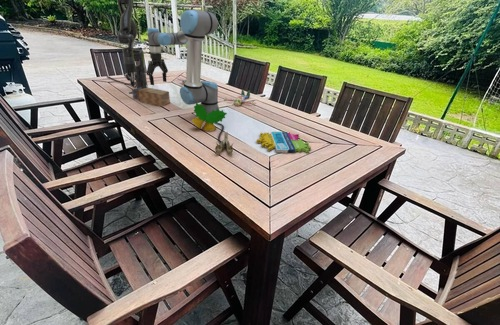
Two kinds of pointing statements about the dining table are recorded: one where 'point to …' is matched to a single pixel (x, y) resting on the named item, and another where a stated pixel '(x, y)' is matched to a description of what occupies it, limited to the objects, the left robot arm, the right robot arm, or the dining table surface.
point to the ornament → (207, 117)
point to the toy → (241, 99)
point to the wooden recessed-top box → (154, 96)
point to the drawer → (135, 93)
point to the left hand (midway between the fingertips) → (133, 85)
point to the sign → (283, 142)
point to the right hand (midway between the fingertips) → (158, 83)
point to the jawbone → (224, 145)
